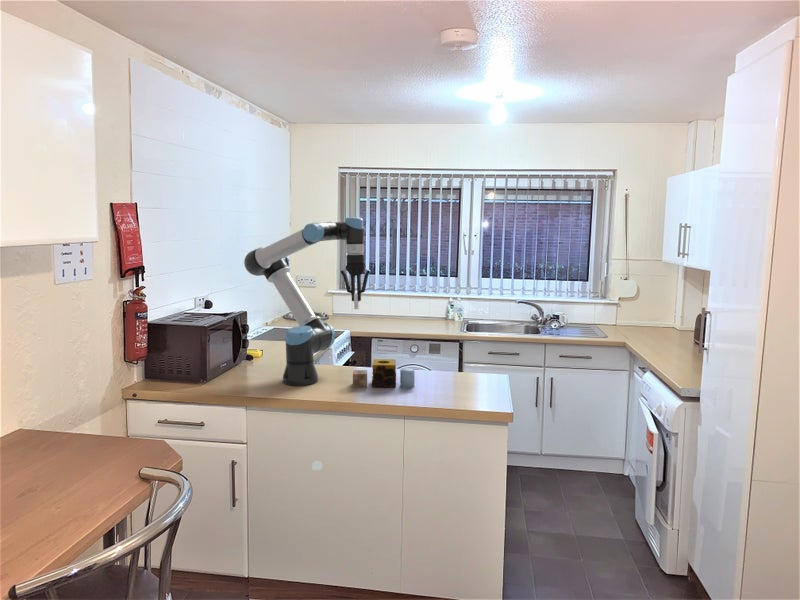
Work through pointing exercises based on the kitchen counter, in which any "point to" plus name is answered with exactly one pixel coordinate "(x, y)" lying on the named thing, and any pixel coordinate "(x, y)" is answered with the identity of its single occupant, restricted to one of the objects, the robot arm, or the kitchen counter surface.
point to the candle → (384, 373)
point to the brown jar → (359, 378)
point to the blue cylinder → (407, 378)
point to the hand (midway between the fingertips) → (356, 308)
